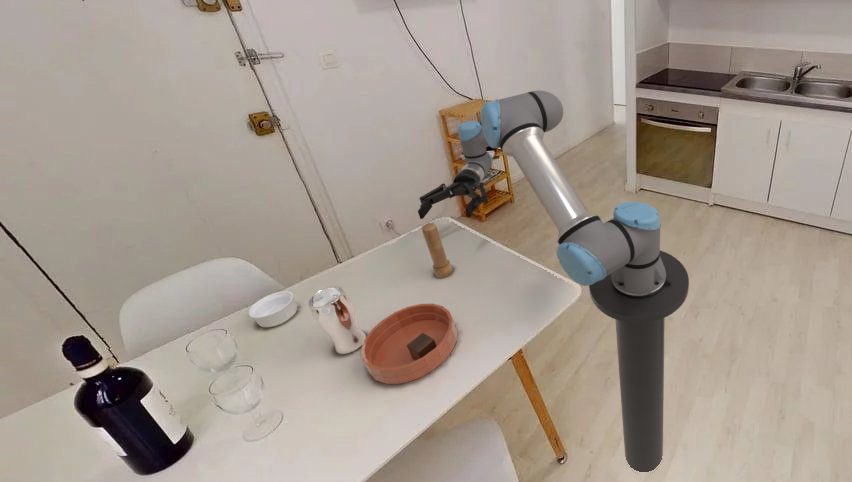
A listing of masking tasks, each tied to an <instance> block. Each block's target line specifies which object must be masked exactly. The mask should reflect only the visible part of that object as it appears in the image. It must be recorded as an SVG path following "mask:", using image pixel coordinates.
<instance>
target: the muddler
mask: <svg viewBox="0 0 852 482" xmlns="http://www.w3.org/2000/svg"><path fill="white" fill-rule="evenodd" d="M420 229H421V232H422V234H423V238H424V241H425V243H426V246H427V249H428V252H429V255H430V258H431V260H432V263H433V264H432V269H433V273H434V275H435V277H437V278H439V279H442V278H446V277H448V276H449V275H451V274H452V273H453V272H454V271H453V266H452V262H451V261H450V259H448V257H447V254H446V251H445V247H444V245H443V242H442V239H441V235H440V233H439V230H438V227H437V224H436V223H435V222H430V223H425V224H424V225H422V226H421V228H420Z"/></svg>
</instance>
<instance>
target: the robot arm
mask: <svg viewBox="0 0 852 482" xmlns="http://www.w3.org/2000/svg"><path fill="white" fill-rule="evenodd" d="M563 117H564V107H563V104H562V101H561V100H560V99H559V98H558V97H557V96H556V95H555V94H553V93H551V92H549V91H546V90H531V91H528V92H524V93H520V94H517V95H512V96H508V97H503V98H500V99H499V98H496V99H495V100H490V101H487V102H485V103H483V104H482V106H481V108H480V122H478V121H475V120H471V121H465V122H462V123H460V124H459V125H458V127H457V133H458V140H459V143H460V146H461V150H462V152H463V157H464V161H465V164H464V165H463V167H462V168H461V169H460V170H459V172H458V173H457V174H456V175H455V176H454V179H453V181H452V183H451V184H449V185H446V183H445V182H443V183H440V185H439V186H437V187H436V188H433V189H432V190H430V191H428V192H426V193H424V195H421V196H420V197H419V201H420V205H419V209H418V210H417V213H418V216H419V219H420V220H424V218H425V217H426V215H428V213H429V212H430V211H431V209H432V208H433V206H434V205H435V204H438V203H441V202H442V201H444V200H446V199H448V198H449V199H452V198H455V197H460V196H461V197H463V196H467V197H468V198H470V199H471V200H470V202H469V203H468V204H467V206H466V207H465V213H466V216H467V218H471V216H472V215H473V213H474V212H475V210H477V209H479V207H480V206H481V205H482V203H484V204H488V203H489V198H488V194H487V192H486V185H485V182H483V180H484V178H485V177H486V175H487V173H488V172H489V171H490V170H491V168H492V165H493V157H492V155H491V154H490V153H489V152H488V151H487V148H488V147H490V148H492V149H498V148H500V150H501V151H502V153H503V155H505V156H507V157H512V158H513V159H514V161H515V162H516V164H517V166H518V168H519V169H520V171H521V172H522V174H523V176H524V177H525V179H526V180H527V182H528V184H529V185H530V187H531V189H532V190H533V192H534V193H535V195H536V197H537V199H538V200H539V202H540V203H541V205H542V206H543V208H544V210H545V211H546V213H547V214H548V216H549V218H550V220H551V221H552V223H553V225H554V227H555V228H556V230H557V231H558V235H557V240H556V242H557V243H558V247H557V248H556V257H557V259H558V260H559V261H558V262H559V265H560V267H561V268H562V270H563V271H564V272H565V274H566V275H567V276H568V277H569V278H570V279H571V280H572V281H573V282H574V283H576V284H579V285H580V286H583V287H584V286H585V287H587V286H588V287H589V285H592V284H594V283H596V282H597V281H600V280H603V279H604V278H605V277H606V276H608V275H609V274H611V281H612V285H613V287H614V289H615V290H616V291H617V292H618V293H620V294H621V295H623V296H626V297H629V298H636V299H640V298H647V297H651V296H653V295H655V294H657V293H658V292H660V291H661V290H662V289H663V287H664V286H665V283H667V284H669V285H670V284H671V281H669V280H667V279H666V270H665V267H664V265H663V263H662V260H661V258H660V251H661V220H660V214H659V212H658V210H657V209H656V208H655V207H654V206H652V205H650V204H647V203H645V202H639V201H626V202H622V203H620V204H618V205H617V206H615V208H614V210H613V213H612V215H613V218H611V219H609V220H607V221H605V222H603V220H602V219H601V217H600V216H599V215H598V214H593V213H591V212H589V211H588V209H587V207H586V206H585V204H584V202H583V201H582V200H581V198H580V197H579V195H578V193H577V192H576V190H575V188H574V187H573V186H572V184H571V182H570V181H569V179H568V178H567V176H566V175H565V173H564V172H563V169H562V168H561V167H560V165H559V163H558V162H557V161H556V159H555V158H554V156H553V155H552V153H551V151H550V150H549V148H548V147H547V145H546V143H545V142H544V141H543V140H544V136H545V133H547V132H549V131H552V130H553V129H555V128H556V127H557V126H559V125H560V123H561V122H562V120H563ZM476 191H478V192H479V193H477V192H476Z"/></svg>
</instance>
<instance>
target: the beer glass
mask: <svg viewBox="0 0 852 482" xmlns="http://www.w3.org/2000/svg"><path fill="white" fill-rule="evenodd" d="M307 306H308V307H309V310H310V313H311V315H312V317H313V319H314V320H315V322H316V323H317V325H318V326H319V327H320V328H321V330H323V332H325V333H326V334H327V336H329V337H330V338H331V340H332V342H333V345H334V349H335V352H336V353H338V354H340V355H346V354H350V353H352V352H355V351H356V350H358V349H359V348H361V347H362V346H363V342H364V340H365V339H366V337H367V336H366V334H365V332H364V331H363V330H362V329H361V328H360V327H359V324H358V321H357V316H356V310H355V307H354V305H353V303H352V300H351V299H350V297H349V296H348V294H347V292H346V291H345V289H344V287H342V286H339V285H332V286H328V287H325V288H322V289H320V290H318V291H317V292H315V293H314V294H312V295H311V296H310V297H309V299H308V300H307Z"/></svg>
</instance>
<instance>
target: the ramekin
mask: <svg viewBox="0 0 852 482" xmlns="http://www.w3.org/2000/svg"><path fill="white" fill-rule="evenodd" d="M297 310H298V304H297V302H296V300H295V297H294V293H293V292H291V291H287V290H282V291H281V290H280V291H277V292H273V293H271V294H270V293H269V294H268V295H266V296H263V297H262V298H261V299H259V300H257V301H256V302H254V303H253V304H252V306H251V307H250V308H249V310H248V316H249V317H250V318H251V319H252V320H254V321H255V322H256V323H257V324H258V326H260V327H262V328H273V327H276V326H279V325H281V324H284V323H285V322H287V321H289V320H290V319H291V318H293V316H294V315H295V314H296V313H297V312H298V311H297Z"/></svg>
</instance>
